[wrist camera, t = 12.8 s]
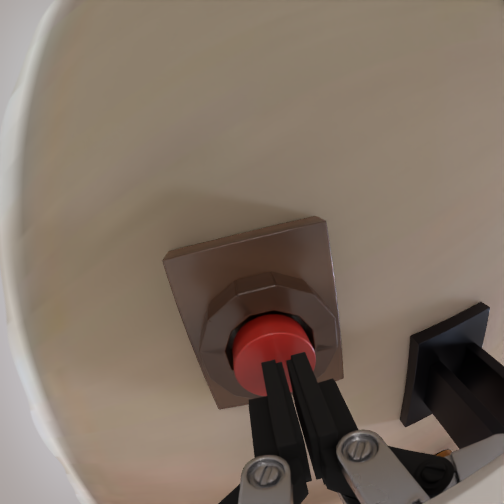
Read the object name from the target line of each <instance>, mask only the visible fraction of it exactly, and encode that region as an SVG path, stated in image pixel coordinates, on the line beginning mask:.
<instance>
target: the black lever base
mask: <svg viewBox="0 0 504 504" xmlns="http://www.w3.org/2000/svg"><path fill="white" fill-rule="evenodd" d="M489 310H490V307H489V306H487V305H485V304H484V303H482V302H480V303H478V304H477V305H475V306H473V307H471V308H469V309H467V310H465V311H463V312H461V313H459V314H457V315H455V316H453V317H451V318H449V319H447V320H445V321H443V322H441V323H439V324H437V325H435V326H432V327H430V328H428V329H426V330H424V331H421V332H419V333H417V334H414V335H412V336H411V339H410V352H409V362H408V371H407V379H406V386H405V393H404V400H403V406H402V411H401V417H400V420H401V422H402V423H403V425H404V426H405V427H407V426H409V425H411V424H414V423H416V422H418V421H419V420H421V419H423V418H425V417H427V416H429V415H431V414H433V415H434V416H435V417H436V419H437V420H438V421H439V422H440V424H441V425H442V426H443V428H444V429H445V430H446V432H447V433H448V434H449V435H450V437H451V438H452V439H453V441H454V442H455V443H456V445H457V446H458V447H459V449H462V448H464V447H467V446H469V445H472V444H474V443H477V442H479V441H481V440H484V439H486V438H488V437H490V436H492V435H495V434H499V433H500V434H504V366H503V365H501V364H500V363H499V362H498V361H497V360H495V359H494V358H493V357H492V356H491V355H489V354H488V353H487V352H486V351H485V350H483V349H482V345H483V340H484V336H485V331H486V326H487V321H488V316H489Z"/></svg>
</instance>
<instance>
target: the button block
mask: <svg viewBox="0 0 504 504" xmlns="http://www.w3.org/2000/svg"><path fill="white" fill-rule="evenodd" d="M163 265H164V268H165V271H166V274H167V277H168V280H169V283H170V286H171V289H172V292H173V295H174V298H175V301H176V304H177V306H178V309H179V312H180V315H181V318H182V320H183V323H184V326H185V329H186V331H187V334H188V337H189V339H190V342H191V344H192V347H193V350H194V352H195V355H196V357H197V360H198V362H199V365H200V367H201V369H202V372H203V374H204V377H205V379H206V381H207V384H208V386H209V388H210V391H211V393H212V395H213V398H214V400H215V402H216V404H217V407H218V409H225V408H230V407H236V406H241V405H246V404H249V399H254V398H259V397H264V396H260V395H256V394H253V393H251V392H249V391H247V390H246V389H244V388H243V387H242V386H241V385H240V384H239V382H238V381H237V379H236V377H235V374H234V365H233V349H232V347H233V341H234V338H235V336H236V334H237V332H238V331H239V330H240V329H241V327H243V326H244V325H245V324H246V323H247V322H249V321H250V320H252V319H254V318H256V317H259V316H262V315H268V314H279V315H284V316H288V317H290V318H292V319H294V320H296V321H297V322H298V323H299V324H300V325H301V326H302V327H303V329H304V331H305V333H306V335H307V337H308V339H309V341H310V343H311V345H312V347H313V349H314V351H315V355H316V364H315V368H314V371H313V372H314V375H315V377H316V379H317V382H318V383H319V382H322V381H326V380H329V379H332V378H333V379H334V381H337V380H340V379H343V378H344V376H343V360H342V347H341V335H340V324H339V313H338V304H337V295H336V287H335V279H334V271H333V263H332V256H331V249H330V243H329V236H328V230H327V224H326V221H325V220H323V219H321V218H319V217H317V216H313V217H308V218H304V219H300V220H295V221H291V222H287V223H282V224H278V225H274V226H270V227H265V228H261V229H257V230H253V231H249V232H244V233H240V234H236V235H232V236H228V237H224V238H220V239H216V240H212V241H207V242H203V243H199V244H195V245H191V246H187V247H183V248H180V249H176V250H172V251H169V252H168V253H167V255H166V256H165V257H164V259H163ZM290 393H291V395H292V394H293V392H290Z"/></svg>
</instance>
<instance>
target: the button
mask: <svg viewBox="0 0 504 504" xmlns="http://www.w3.org/2000/svg"><path fill="white" fill-rule="evenodd" d="M232 349H233V365H234V374H235V377H236V379H237V381H238V382H239V384H240V385H241V386H242V387H243V388H244V389H246V390H247V391H249V392H251V393H253V394H256V395H260V396H267V393H266V388H265V382H264V377H263V371H262V366H261V363H262V362H266V361H270V360H275V361H276V363H278V362H282V365H283V368H284V372H285V375H286V379H287V382H288V386H289V389H290V392H292V387H291V382H290V377H289V373H288V368H287V363H286V360H290V359H291V355H294V354H298V353H302V352H305V353H306V355H307V358H308V360H309V363H310V365H311V367H312V370H313V371H314V368H315V364H316V355H315V351H314V349H313V347H312V345H311V343H310V341H309V339H308V337H307V335H306V333H305V331H304V329H303V327H302V326H301V325H300V324H299V323H298V322H297V321H296V320H294V319H292V318H290V317H288V316H284V315H279V314H268V315H262V316H259V317H256V318H254V319H252V320H250V321H249V322H247V323H246V324H245V325H244V326H243V327H241V329H240V330H239V331H238V332H237V334H236V336H235V338H234V341H233V347H232Z"/></svg>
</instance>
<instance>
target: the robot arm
mask: <svg viewBox="0 0 504 504" xmlns="http://www.w3.org/2000/svg"><path fill="white" fill-rule="evenodd" d="M286 363H287V368H288V373H289V377H290V382H291V387H292V392H293V397H294V401H295V406H296V410H297V414H298V417H297V414H296V410H295V407H294V403H293V400H292V396H291V393H290V389H289V386H288V382H287V379H286V375H285V372H284V368H283V365H282V362H278V363H276V361H275V360H270V361H266V362H262V363H261V366H262V371H263V377H264V382H265V388H266V393H267V396H264V397H259V398H254V399H249V411H250V420H251V429H252V438H253V446H254V455H255V458H254V459H252V460H250V461H249V462H248V463H247V464H246V465H245V467H244V468H243V470H242V474H241V482H240V484H239V485H238V486H237V487H236V488H235V489H234V490H233V491H232V492H231V493H230V494H229V495H227V496H226V497H225V498H224V499H223V500H222V501H221V502H220V503H219V504H301V502H302V501H303V500H304V499H305V498H306V496H307V495H308V494H309V493H308V488H307V484H306V482H309V481H312V479H311V474H310V469H309V464H308V459H307V453H306V448H305V443H304V439H303V435H304V438H305V442H306V445H307V449H308V452H309V456H310V459H311V463H312V466H313V470H314V473H315V476H316V479H321V478H322V479H323V483H324V485H325V484H326V486H327V489H329V490H332V491H335V492H337V493H338V495H339V497H340V499H341V501H342V502H343V504H504V434H500V433H499V434H495V435H492V436H490V437H488V438H486V439H484V440H481V441H479V442H477V443H474V444H472V445H469V446H467V447H464V448H462V449H459V450H456V451H454V452H451V454H450V455H448V456H445V457H441V456H436V455H430V454H424V453H419V452H414V451H409V450H404V449H399V448H395V447H390V446H387V444H386V443H385V442H384V441H383V439H382V438H381V437H380V436H379V435H378V434H377V433H375V432H372V431H370V430H358V428H357V426H356V424H355V422H354V420H353V418H352V415H351V413H350V411H349V409H348V407H347V405H346V403H345V401H344V399H343V397H342V395H341V393H340V391H339V389H338V386H337V384H336V382H335V381H334V379H333V378H332V379H329V380H326V381H322V382H319V383H318V382H317V379H316V377H315V375H314V372H313V370H312V367H311V365H310V363H309V360H308V358H307V355H306V353H305V352H302V353H298V354H294V355H291V359H290V360H286ZM298 418H299V421H300V424H301V428H302V431H303V435H302V431H301V428H300V424H299V421H298Z"/></svg>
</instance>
